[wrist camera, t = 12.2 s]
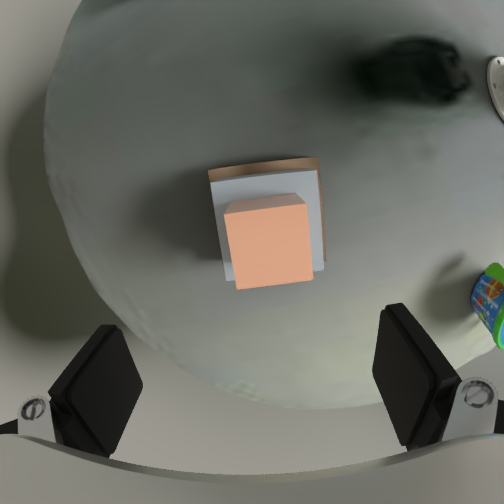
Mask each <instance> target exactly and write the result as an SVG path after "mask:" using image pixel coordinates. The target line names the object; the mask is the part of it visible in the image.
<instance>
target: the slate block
mask: <svg viewBox="0 0 504 504" xmlns="http://www.w3.org/2000/svg"><path fill="white" fill-rule="evenodd" d="M210 184H211V191H212V197H213V204H214V210H215V216H216V223H217V229H218V235H219V241H220V247H221V253H222V259H223V264H224V270H225V276H226V281H232V280H235V275H234V270H233V264H232V259H231V253H230V247H229V242H228V236H227V230H226V224H225V218H224V213H225V212H226V210H227V208H228V207H229V205H230V203H231V202H234V201H241V200H248V199H255V198H263V197H270V196H278V195H286V194H294V193H296V194H297V195H298V196H299V197H301V198H302V199H303V200H304V201H305V202H306V203H307V212H308V222H309V232H310V243H311V255H312V269H313V271H320V270H324V260H323V241H322V225H321V212H320V199H319V188H318V177H317V170H313V169H308V168H307V169H296V170H286V171H276V172H267V173H259V174H251V175H243V176H236V177H228V178H222V179H217V180H215V181H213V182H211V183H210Z"/></svg>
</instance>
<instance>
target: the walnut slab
mask: <svg viewBox="0 0 504 504" xmlns="http://www.w3.org/2000/svg"><path fill="white" fill-rule="evenodd" d="M307 168H308V169H313V170H317V177H318V188H319V199H320V212H321V225H322V241H323V260H324V261H326V248H325V231H324V217H323V204H322V193H321V182H320V173H319V163H318V157H306V158H295V159H285V160H275V161H267V162H258V163H251V164H243V165H236V166H229V167H222V168H216V169H211V170H208V176H209V182H210V183H211V182H213V181H215V180H217V179H222V178H228V177H236V176H243V175H251V174H259V173H267V172H276V171H286V170H296V169H307ZM210 189H211V184H210ZM211 195H212V191H211ZM212 201H213V197H212ZM213 208H214V204H213ZM214 214H215V210H214ZM215 220H216V216H215ZM216 226H217V223H216ZM217 232H218V229H217ZM218 238H219V235H218ZM219 244H220V241H219ZM220 250H221V247H220ZM221 255H222V253H221ZM222 261H223V259H222ZM223 267H224V264H223ZM224 272H225V270H224Z"/></svg>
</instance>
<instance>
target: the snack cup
mask: <svg viewBox="0 0 504 504" xmlns="http://www.w3.org/2000/svg"><path fill="white" fill-rule="evenodd" d="M471 300H472V302H471V304H472V307H473V309H474V310H475V312H476V314H477V315H478V317H479V318H480V319H481V320H482V322H483V323H484V325H485V326H486V327H487V329H488V330H489V331H490V333H491V334H492V336H493V339H494V342H495V343H496V344H497V346H498V348H500V349H504V268H503V267H502V266H501V265H500V264H499V263H492V264H491V265H489V267H488V268H487V269H486V270H485V274H484V275H482V276H481V277H480V279H479V281H478V282H477V284H476V285H475V288H474V290H473V293H472V295H471Z"/></svg>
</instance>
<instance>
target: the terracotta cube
mask: <svg viewBox="0 0 504 504" xmlns="http://www.w3.org/2000/svg"><path fill="white" fill-rule="evenodd" d="M224 218H225V224H226V230H227V236H228V242H229V247H230V253H231V259H232V264H233V270H234V275H235V281H236V286H237V289H246V288H254V287H262V286H270V285H278V284H286V283H293V282H300V281H308V280H313V269H312V255H311V243H310V232H309V222H308V212H307V203H306V202H305V201H304V200H303V199H302V198H301V197H299V196H298V195H297V194H296V193H294V194H286V195H278V196H270V197H263V198H255V199H248V200H241V201H234V202H231V203H230V205H229V207H228V208H227V210H226V212H225V213H224Z"/></svg>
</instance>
